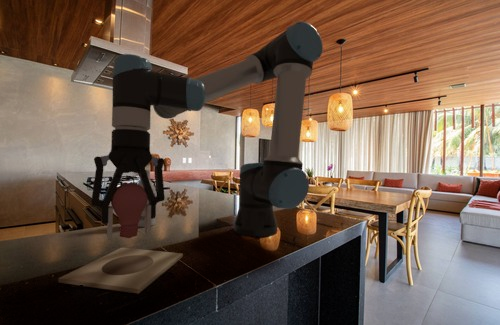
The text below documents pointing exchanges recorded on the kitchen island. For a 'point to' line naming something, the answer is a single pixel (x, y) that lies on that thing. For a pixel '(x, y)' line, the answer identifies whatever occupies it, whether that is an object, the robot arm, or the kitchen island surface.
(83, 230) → the kitchen island surface
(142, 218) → the bath foam
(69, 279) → the seat board
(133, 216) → the dark red bulb shape
